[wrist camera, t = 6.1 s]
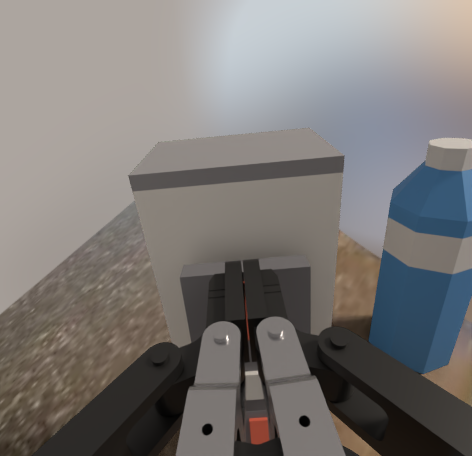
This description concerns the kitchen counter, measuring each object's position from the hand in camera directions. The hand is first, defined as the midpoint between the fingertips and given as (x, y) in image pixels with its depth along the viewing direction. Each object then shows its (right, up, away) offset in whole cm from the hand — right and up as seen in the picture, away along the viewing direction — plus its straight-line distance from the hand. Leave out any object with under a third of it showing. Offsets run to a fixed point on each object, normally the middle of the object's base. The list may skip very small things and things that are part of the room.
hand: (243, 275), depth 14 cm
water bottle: (+21, -12, +25) cm, 35 cm away
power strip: (+2, -19, +17) cm, 25 cm away
